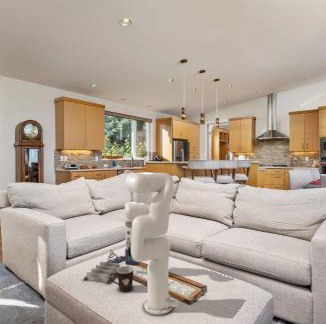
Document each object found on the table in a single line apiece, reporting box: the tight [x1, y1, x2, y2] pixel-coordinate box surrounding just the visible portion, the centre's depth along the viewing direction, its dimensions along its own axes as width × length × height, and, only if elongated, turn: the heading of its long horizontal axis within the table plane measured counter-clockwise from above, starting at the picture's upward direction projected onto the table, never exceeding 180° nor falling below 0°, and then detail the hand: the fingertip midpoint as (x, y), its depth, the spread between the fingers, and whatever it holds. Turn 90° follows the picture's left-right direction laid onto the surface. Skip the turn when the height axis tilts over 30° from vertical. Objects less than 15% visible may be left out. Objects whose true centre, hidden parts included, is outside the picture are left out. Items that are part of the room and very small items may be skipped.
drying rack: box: [83, 261, 121, 285], centre depth 146 cm, size 15×17×4 cm
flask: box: [124, 247, 141, 267], centre depth 148 cm, size 9×3×11 cm, turn 76°
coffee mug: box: [108, 265, 135, 293], centre depth 131 cm, size 12×9×10 cm
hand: (132, 254), depth 148 cm, fingers closed on flask, 3 cm apart
